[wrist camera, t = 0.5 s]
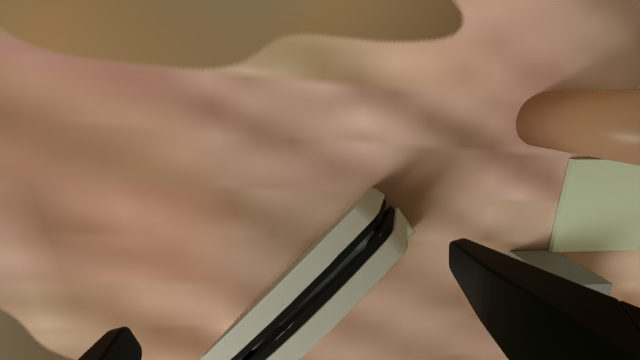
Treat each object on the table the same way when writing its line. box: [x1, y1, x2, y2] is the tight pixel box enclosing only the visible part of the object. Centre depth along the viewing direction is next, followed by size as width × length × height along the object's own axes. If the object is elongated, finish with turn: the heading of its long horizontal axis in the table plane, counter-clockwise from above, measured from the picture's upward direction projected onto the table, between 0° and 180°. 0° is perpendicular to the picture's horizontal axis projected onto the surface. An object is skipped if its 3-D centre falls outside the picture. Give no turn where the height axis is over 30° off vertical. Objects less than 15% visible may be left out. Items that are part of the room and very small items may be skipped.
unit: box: [509, 250, 612, 296], centre depth 24 cm, size 7×4×6 cm, turn 179°
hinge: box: [200, 187, 415, 360], centre depth 21 cm, size 17×5×10 cm, turn 136°
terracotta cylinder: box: [516, 89, 640, 166], centre depth 19 cm, size 4×4×9 cm
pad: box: [548, 159, 640, 252], centre depth 25 cm, size 8×8×1 cm
